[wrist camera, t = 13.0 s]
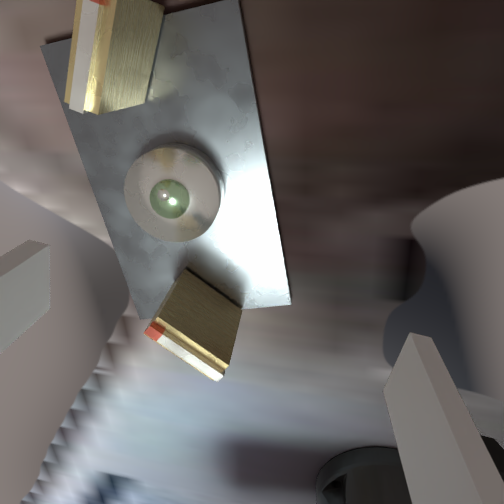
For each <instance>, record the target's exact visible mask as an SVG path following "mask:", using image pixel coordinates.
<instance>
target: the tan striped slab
mask: <svg viewBox="0 0 504 504" xmlns="http://www.w3.org/2000/svg"><path fill="white" fill-rule="evenodd" d="M164 8H165V6H162V5H160V4H157V3H155V2H153V1H150V0H77V2H76V10H75V18H74V26H73V34H72V42H71V50H70V59H69V67H68V75H67V83H66V91H65V99H64V102H66V103H68V104H69V109H72V110H74V111H77V112H80V113H82V114H85V113H88V111H89V112H92V113H94V114H97V115H100V114H104V113H108V112H112V111H116V110H120V109H124V108H128V107H131V106H135V105H139V104H143V103H144V102H145V98H146V93H147V88H148V84H149V79H150V74H151V70H152V65H153V60H154V55H155V51H156V46H157V41H158V37H159V32H160V27H161V23H162V18H163V13H164Z"/></svg>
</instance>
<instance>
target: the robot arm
mask: <svg viewBox="0 0 504 504" xmlns="http://www.w3.org/2000/svg"><path fill="white" fill-rule="evenodd" d="M49 309H50V245H48V244H44V243H40V242H36V241H32V240H28V241H26V242H24V243H23V244H21V245H19V246H18V247H16V248H14V249H13V250H11V251H9V252H7V253H6V254H4V255H3V256H1V257H0V354H1V353H2V352H3V351H4V350H5V349H7V348H8V347H9V346H10V345H11V344H12V343H13V342H14V341H15V340H16V339H17V338H19V337H20V336H21V335H22V334H23V333H24V332H25V331H26V330H27V329H28V328H29V327H31V326H32V325H33V324H34V323H35V322H36V321H37V320H38V319H39V318H40V317H41V316H43V315H44V314H45V313H46V312H47V311H48V310H49ZM383 393H384V397H385V401H386V405H387V409H388V413H389V416H390V420H391V424H392V428H393V432H394V436H395V439H396V443H397V447H398V450H396V449H390V448H380V447H371V448H361V449H356V450H352V451H348V452H345V453H343V454H340V455H338V456H336V457H335V458H333V459H332V460H330V461H329V462H328V463H327V464H325V465H324V467H323V468H322V469H321V470H320V472H319V474H318V476H317V480H316V501H317V504H504V449H503V448H502V447H501V446H500V445H499V444H498V443H497V442H496V441H495V439H493V438H489V437H485V436H481V435H480V434H479V432H478V430H477V428H476V426H475V424H474V422H473V420H472V418H471V416H470V414H469V412H468V410H467V408H466V406H465V404H464V402H463V400H462V398H461V396H460V394H459V392H458V390H457V388H456V386H455V384H454V382H453V380H452V378H451V377H450V374H449V372H448V370H447V368H446V367H445V364H444V362H443V360H442V358H441V356H440V354H439V352H438V350H437V348H436V347H435V344H434V342H433V340H432V338H431V337H427V336H423V335H418V334H415V333H409V335H408V337H407V339H406V342H405V344H404V346H403V348H402V350H401V352H400V355H399V357H398V359H397V361H396V363H395V365H394V367H393V370H392V372H391V374H390V376H389V378H388V380H387V383H386V385H385V387H384V389H383Z"/></svg>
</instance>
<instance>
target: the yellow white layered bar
mask: <svg viewBox="0 0 504 504" xmlns="http://www.w3.org/2000/svg"><path fill="white" fill-rule="evenodd" d="M241 314H242V310H241V309H240V308H238V307H237V306H236V305H234V304H233V303H232V302H230V301H229V300H227V299H226V298H225V297H223V296H222V295H220V294H219V293H218V292H216V291H215V290H214V289H212V288H211V287H209V286H208V285H207V284H205V283H204V282H203V281H201V280H200V279H198V278H197V277H196V276H194V275H193V274H192V273H190V272H189V271H187V270H186V269H185V270H184V271H183V272H182V273H181V274H180V276H179V277H178V278H177V279H176V280H175V282H174V283H173V284H172V286H171V288H170V289H169V291H168V293H167V294H166V296H165V298H164V300H163V301H162V303H161V305H160V306H159V308H158V310H157V311H156V313H155V315H154V317H153V318H152V320H151V322H150V323H149V325H148V327H147V328H146V330H145V332H144V334H145V335H146V336H148V337H149V338H151V339H152V340H154V341H155V342H157V343H158V344H160V345H161V346H163V347H164V348H166V349H167V350H169V351H170V352H172V353H173V354H175V355H176V356H178V357H179V358H181V359H182V360H183V361H185V362H186V363H188V364H189V365H191V366H192V367H194V368H195V369H197V370H198V371H200V372H201V373H203V374H204V375H206V376H207V377H209V378H210V379H212V380H215V381H216V382H218V381H219V380H220V379H221V378H222V377H223V376H224V374H225V369H226V368H227V367H228V366H229V363H230V359H231V355H232V351H233V347H234V343H235V339H236V334H237V330H238V326H239V322H240V318H241Z"/></svg>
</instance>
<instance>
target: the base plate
mask: <svg viewBox="0 0 504 504" xmlns="http://www.w3.org/2000/svg"><path fill="white" fill-rule="evenodd" d="M71 42H72V38H70V39H66V40H62V41H58V42H54V43H50V44H46V45H42V46H40V47H41V50H42V53H43V56H44V58H45V61H46V64H47V67H48V69H49V72H50V75H51V77H52V80H53V83H54V86H55V88H56V91H57V94H58V97H59V99H60V102H61V105H62V107H63V110H64V113H65V116H66V118H67V121H68V124H69V127H70V129H71V132H72V135H73V137H74V140H75V143H76V146H77V148H78V151H79V154H80V157H81V159H82V162H83V165H84V167H85V170H86V173H87V176H88V178H89V181H90V184H91V187H92V189H93V192H94V195H95V197H96V200H97V203H98V206H99V208H100V211H101V214H102V217H103V219H104V222H105V225H106V227H107V230H108V233H109V236H110V238H111V241H112V244H113V247H114V249H115V252H116V255H117V257H118V260H119V263H120V265H121V268H122V271H123V274H124V277H125V279H126V282H127V285H128V287H129V290H130V293H131V296H132V298H133V301H134V304H135V307H136V309H137V312H138V315H139V317H140V319H149V318H153V317H154V315H155V313H156V311H157V310H158V308H159V306H160V305H161V303H162V301H163V300H164V298H165V296H166V294H167V293H168V291H169V289H170V288H171V286H172V284H173V283H174V282H175V280H176V279H177V278H178V277H179V276H180V274H181V273H182V272H183V271H184V270H185V269H186V270H187V271H189V272H190V273H192V274H193V275H194V276H196V277H197V278H198V279H200V280H201V281H203V282H204V283H205V284H207V285H208V286H209V287H211V288H212V289H214V290H215V291H216V292H218V293H219V294H220V295H222V296H223V297H225V298H226V299H227V300H229V301H230V302H232V303H233V304H234V305H236V306H237V307H238V308H240V309H250V308H260V307H271V306H281V305H291V300H292V299H291V293H290V287H289V281H288V276H287V270H286V264H285V258H284V253H283V247H282V241H281V235H280V230H279V224H278V218H277V212H276V207H275V201H274V195H273V189H272V184H271V178H270V172H269V166H268V161H267V155H266V149H265V143H264V138H263V132H262V126H261V120H260V115H259V109H258V103H257V97H256V92H255V86H254V80H253V74H252V69H251V63H250V57H249V51H248V46H247V40H246V34H245V28H244V23H243V17H242V11H241V5H240V0H223V1H219V2H215V3H211V4H207V5H203V6H199V7H195V8H191V9H187V10H183V11H179V12H175V13H171V14H167V15H163V18H162V23H161V27H160V32H159V37H158V41H157V46H156V51H155V55H154V60H153V65H152V70H151V74H150V79H149V84H148V88H147V93H146V98H145V102H144V103H143V104H139V105H135V106H131V107H128V108H124V109H120V110H116V111H112V112H108V113H104V114H100V115H97V114H94V113H92V112H89V111H88V113H85V114H82V113H80V112H77V111H74V110H72V109H69V104H68V103H66V102H64V99H65V91H66V83H67V75H68V67H69V59H70V50H71Z"/></svg>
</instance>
